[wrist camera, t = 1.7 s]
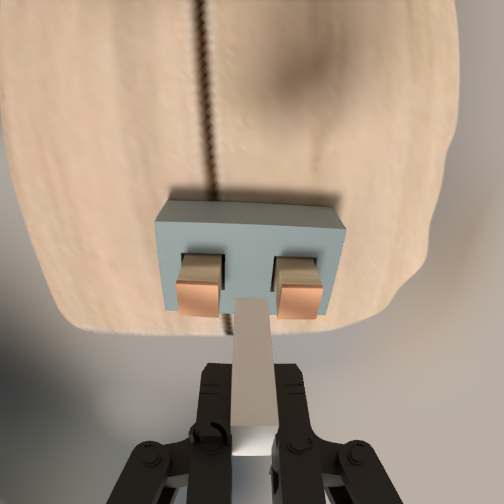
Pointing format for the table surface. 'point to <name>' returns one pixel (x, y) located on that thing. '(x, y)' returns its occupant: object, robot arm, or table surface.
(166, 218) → the socket block
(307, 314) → the peg
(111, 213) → the table surface
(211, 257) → the peg
